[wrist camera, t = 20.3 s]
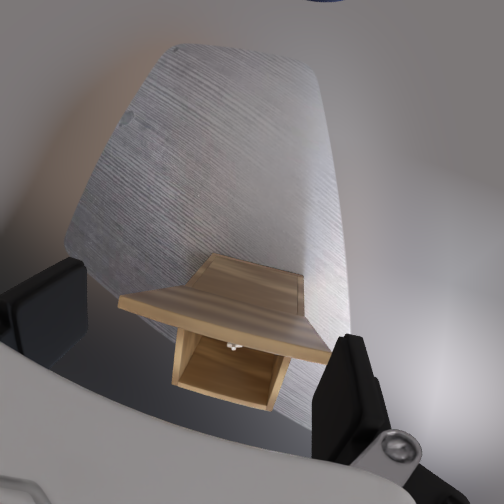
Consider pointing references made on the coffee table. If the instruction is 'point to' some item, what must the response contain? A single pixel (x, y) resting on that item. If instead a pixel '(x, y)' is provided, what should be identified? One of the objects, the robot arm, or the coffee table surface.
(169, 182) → the coffee table surface
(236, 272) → the box
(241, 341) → the lid
